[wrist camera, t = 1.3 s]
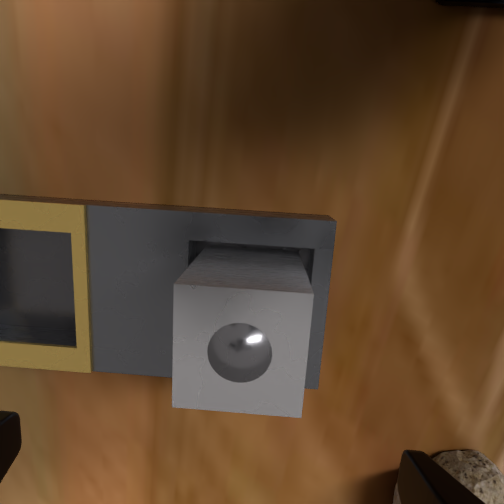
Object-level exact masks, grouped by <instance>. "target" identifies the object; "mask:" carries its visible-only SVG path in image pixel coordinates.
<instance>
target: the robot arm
mask: <svg viewBox="0 0 504 504" xmlns="http://www.w3.org/2000/svg"><path fill="white" fill-rule="evenodd" d="M436 2H437V3H438V4H441V5H452V6H474V7H496V8H504V0H436ZM21 442H22V440H21V427H20V417H19V415H18V413H16V412H9V411H0V483H1V481H2V479H3V478H4V476H5V474H6V473H7V471H8V470H9V468H10V466H11V465H12V463H13V461H14V460H15V458H16V456H17V455H18V453H19V451H20V448H21ZM397 488H398V493H399V497H400V501H401V504H485V503H484V502H483V501H482V500H481V499H479V498H478V497H477V496H476V495H475V494H473V493H472V492H471V491H470V490H469V489H467V488H466V487H465V486H464V485H463V484H461V483H460V482H459V481H458V480H457V479H455V478H454V477H453V476H452V475H451V474H449V473H448V472H447V471H446V470H445V469H444V468H442V467H441V466H440V465H439V464H438V463H436V462H435V461H434V460H433V459H432V458H430V457H429V456H428V455H427V454H425V453H424V452H422V451H416V450H405V451H404V452H403V454H402V457H401V462H400V468H399V473H398V478H397Z"/></svg>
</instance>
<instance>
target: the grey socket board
mask: <svg viewBox="0 0 504 504" xmlns="http://www.w3.org/2000/svg"><path fill="white" fill-rule="evenodd" d="M336 223H337V221H335V220H334V219H333V218H331V217H330V216H328V215H313V214H297V213H282V212H267V211H251V210H236V209H220V208H205V207H190V206H174V205H159V204H143V203H128V202H113V201H97V200H82V199H66V198H51V197H35V196H20V195H5V194H0V366H9V367H22V368H34V369H46V370H59V371H71V372H83V373H91V372H92V371H97V372H110V373H122V374H135V375H147V376H159V377H172V371H173V293H174V283H175V282H176V281H177V279H178V278H179V277H180V276H181V275H182V274H183V272H184V271H185V270H186V269H187V268H188V267H189V265H190V264H191V263H192V262H193V261H194V260H195V258H196V257H197V256H198V255H199V254H200V253H201V251H202V250H203V249H204V248H205V247H206V246H207V245H210V246H225V247H240V248H254V249H269V250H283V251H298V252H299V255H300V257H301V260H302V263H303V265H304V268H305V271H306V274H307V276H308V279H309V282H310V284H311V287H312V290H313V293H314V299H313V309H312V319H311V328H310V338H309V348H308V358H307V367H306V377H305V387H304V388H308V389H318V384H319V375H320V366H321V357H322V348H323V339H324V330H325V321H326V312H327V303H328V294H329V285H330V277H331V268H332V259H333V250H334V241H335V232H336Z"/></svg>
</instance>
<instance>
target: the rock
mask: <svg viewBox="0 0 504 504" xmlns="http://www.w3.org/2000/svg"><path fill="white" fill-rule="evenodd" d="M433 460H434V461H435V462H436V463H438V464H439V465H440V466H441V467H442V468H444V469H445V470H446V471H447V472H448V473H449V474H451V475H452V476H453V477H454V478H455V479H457V480H458V481H459V482H460V483H461V484H463V485H464V486H465V487H466V488H467V489H469V490H470V491H471V492H472V493H473V494H475V495H476V496H477V497H478V498H479V499H481V500H482V501H483V502H484V503H485V504H504V475H503V474H502V473H501V472H500V470H499V469H498V468H497V466H496V465H495V464H494V463H493V462H491V461H490V460H489V459H488V458H487V457H486V456H485V455H484V454H482V453H481V452H479V451H475V450H467V451H459V450H456V451H448V452H442V453H440V454H438V455H437V456H436V457H434V458H433ZM393 504H401V501H400V497H399V493H398V488H397V483H396V486H395V492H394V498H393Z"/></svg>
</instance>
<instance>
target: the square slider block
mask: <svg viewBox="0 0 504 504" xmlns="http://www.w3.org/2000/svg"><path fill="white" fill-rule="evenodd" d="M313 299H314V293H313V290H312V287H311V284H310V282H309V279H308V276H307V274H306V271H305V268H304V265H303V263H302V260H301V257H300V255H299V252H298V251H283V250H269V249H254V248H240V247H225V246H210V245H207V246H206V247H205V248H204V249H203V250H202V251H201V253H200V254H199V255H198V256H197V257H196V258H195V260H194V261H193V262H192V263H191V264H190V265H189V267H188V268H187V269H186V270H185V271H184V272H183V274H182V275H181V276H180V277H179V278H178V279H177V281H176V282H175V283H174V293H173V371H172V407H177V408H189V409H201V410H213V411H225V412H237V413H249V414H260V415H272V416H284V417H296V418H301V416H302V406H303V397H304V387H305V377H306V367H307V358H308V348H309V338H310V328H311V319H312V309H313Z"/></svg>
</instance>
